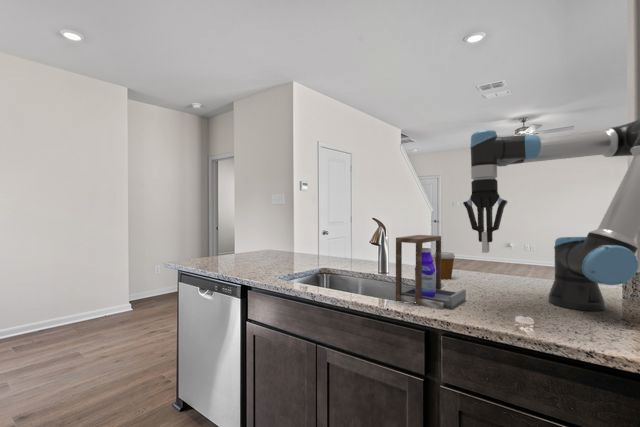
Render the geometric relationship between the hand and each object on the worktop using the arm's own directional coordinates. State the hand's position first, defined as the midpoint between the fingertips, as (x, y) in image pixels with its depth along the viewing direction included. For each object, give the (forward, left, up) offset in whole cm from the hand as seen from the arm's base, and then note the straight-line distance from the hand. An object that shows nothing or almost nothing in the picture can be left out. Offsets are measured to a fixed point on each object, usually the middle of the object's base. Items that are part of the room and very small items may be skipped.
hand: (485, 252), depth 105 cm
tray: (+17, 0, -19) cm, 25 cm away
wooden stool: (+19, 0, -19) cm, 26 cm away
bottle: (+20, 0, -18) cm, 27 cm away
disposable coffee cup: (+29, -41, -19) cm, 53 cm away
